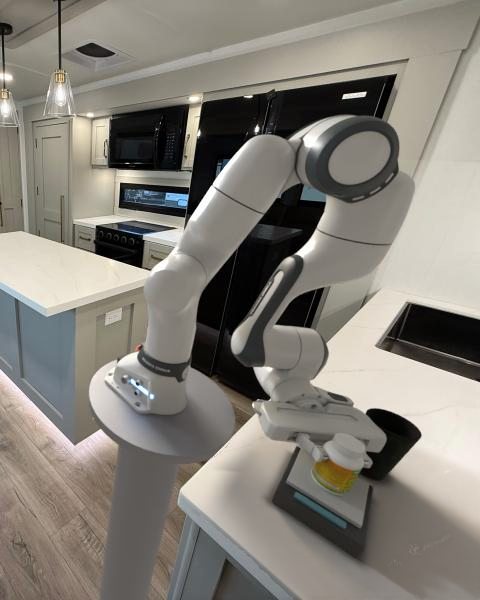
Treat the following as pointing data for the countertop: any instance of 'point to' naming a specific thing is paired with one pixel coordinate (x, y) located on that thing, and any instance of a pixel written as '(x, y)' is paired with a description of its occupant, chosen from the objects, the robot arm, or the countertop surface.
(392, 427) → the cup
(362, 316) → the countertop surface
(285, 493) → the kitchen scale
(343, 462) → the supplement bottle
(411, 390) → the countertop surface
